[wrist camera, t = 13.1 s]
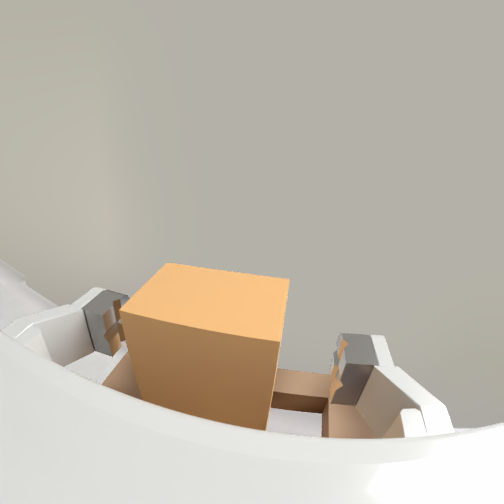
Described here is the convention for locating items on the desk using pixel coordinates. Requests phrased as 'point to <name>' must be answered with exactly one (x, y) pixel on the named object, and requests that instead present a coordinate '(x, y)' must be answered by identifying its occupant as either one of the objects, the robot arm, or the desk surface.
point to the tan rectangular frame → (279, 399)
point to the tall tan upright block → (207, 342)
